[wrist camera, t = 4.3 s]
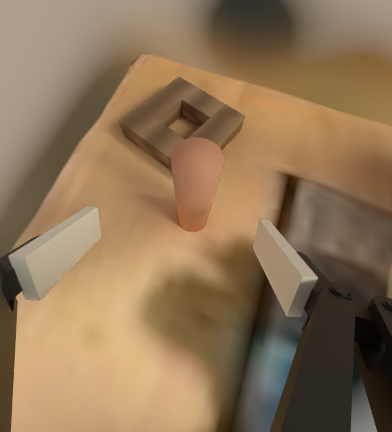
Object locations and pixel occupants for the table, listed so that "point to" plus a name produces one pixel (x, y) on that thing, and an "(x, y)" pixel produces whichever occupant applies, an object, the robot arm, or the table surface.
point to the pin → (195, 180)
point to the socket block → (173, 109)
